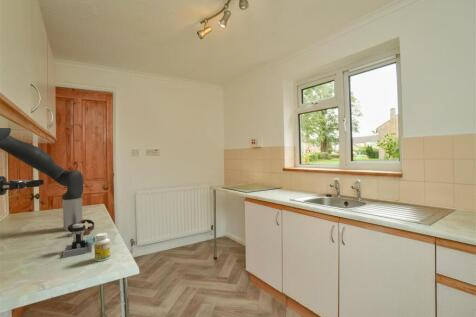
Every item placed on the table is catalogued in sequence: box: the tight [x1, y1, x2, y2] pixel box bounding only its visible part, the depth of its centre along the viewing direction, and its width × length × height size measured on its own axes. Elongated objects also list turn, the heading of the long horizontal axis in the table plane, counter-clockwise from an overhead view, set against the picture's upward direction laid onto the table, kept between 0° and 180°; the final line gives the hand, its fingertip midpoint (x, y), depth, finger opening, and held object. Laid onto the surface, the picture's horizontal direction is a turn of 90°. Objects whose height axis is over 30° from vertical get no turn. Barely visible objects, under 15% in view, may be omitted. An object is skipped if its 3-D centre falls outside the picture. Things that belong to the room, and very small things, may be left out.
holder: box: [61, 236, 93, 259], centre depth 103 cm, size 9×10×4 cm
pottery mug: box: [67, 218, 95, 236], centre depth 127 cm, size 12×10×8 cm
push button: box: [67, 223, 86, 249], centre depth 104 cm, size 7×5×10 cm
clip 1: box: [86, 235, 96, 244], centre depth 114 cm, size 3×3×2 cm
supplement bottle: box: [93, 232, 111, 262], centre depth 94 cm, size 5×5×10 cm
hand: (41, 182), depth 101 cm, fingers open, 8 cm apart
